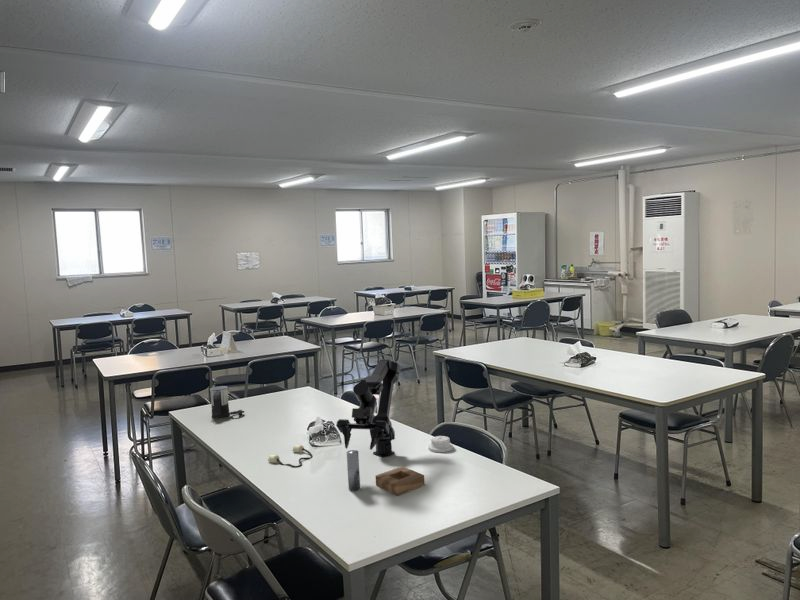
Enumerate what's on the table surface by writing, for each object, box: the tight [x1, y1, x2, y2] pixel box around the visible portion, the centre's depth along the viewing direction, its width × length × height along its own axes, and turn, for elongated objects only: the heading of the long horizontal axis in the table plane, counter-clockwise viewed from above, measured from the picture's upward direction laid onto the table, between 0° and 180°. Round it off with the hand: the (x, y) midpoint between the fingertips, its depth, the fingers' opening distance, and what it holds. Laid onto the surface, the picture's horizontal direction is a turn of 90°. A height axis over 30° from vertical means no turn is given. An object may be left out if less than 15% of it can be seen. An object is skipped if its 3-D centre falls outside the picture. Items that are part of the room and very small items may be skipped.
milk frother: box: [209, 385, 245, 419], centre depth 299 cm, size 14×16×15 cm
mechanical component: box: [427, 435, 454, 453], centre depth 235 cm, size 10×4×10 cm
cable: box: [267, 444, 313, 469], centre depth 231 cm, size 16×16×4 cm
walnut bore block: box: [375, 465, 426, 496], centre depth 200 cm, size 12×12×4 cm
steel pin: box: [346, 449, 361, 492], centre depth 198 cm, size 4×4×13 cm
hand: (358, 448), depth 204 cm, fingers open, 9 cm apart
